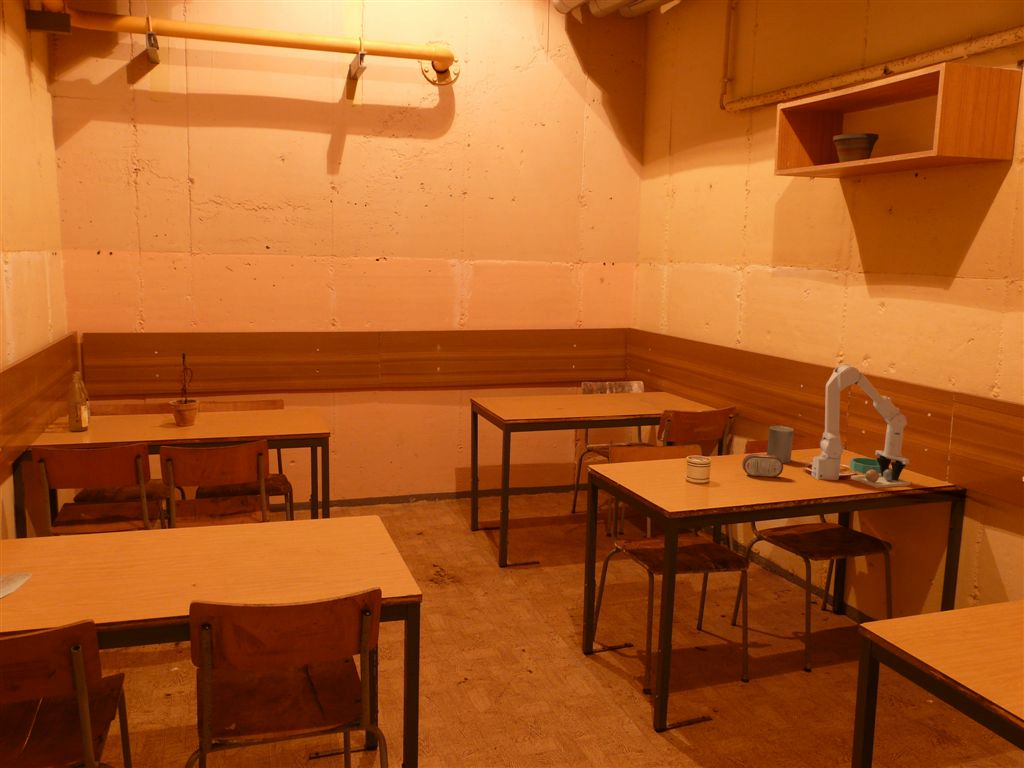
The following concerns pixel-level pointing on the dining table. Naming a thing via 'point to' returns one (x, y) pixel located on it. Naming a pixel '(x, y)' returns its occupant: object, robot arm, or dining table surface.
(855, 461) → the teal bowl
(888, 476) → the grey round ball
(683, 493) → the dining table surface
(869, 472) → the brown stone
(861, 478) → the tray
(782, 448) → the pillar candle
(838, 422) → the robot arm
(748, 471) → the tin
